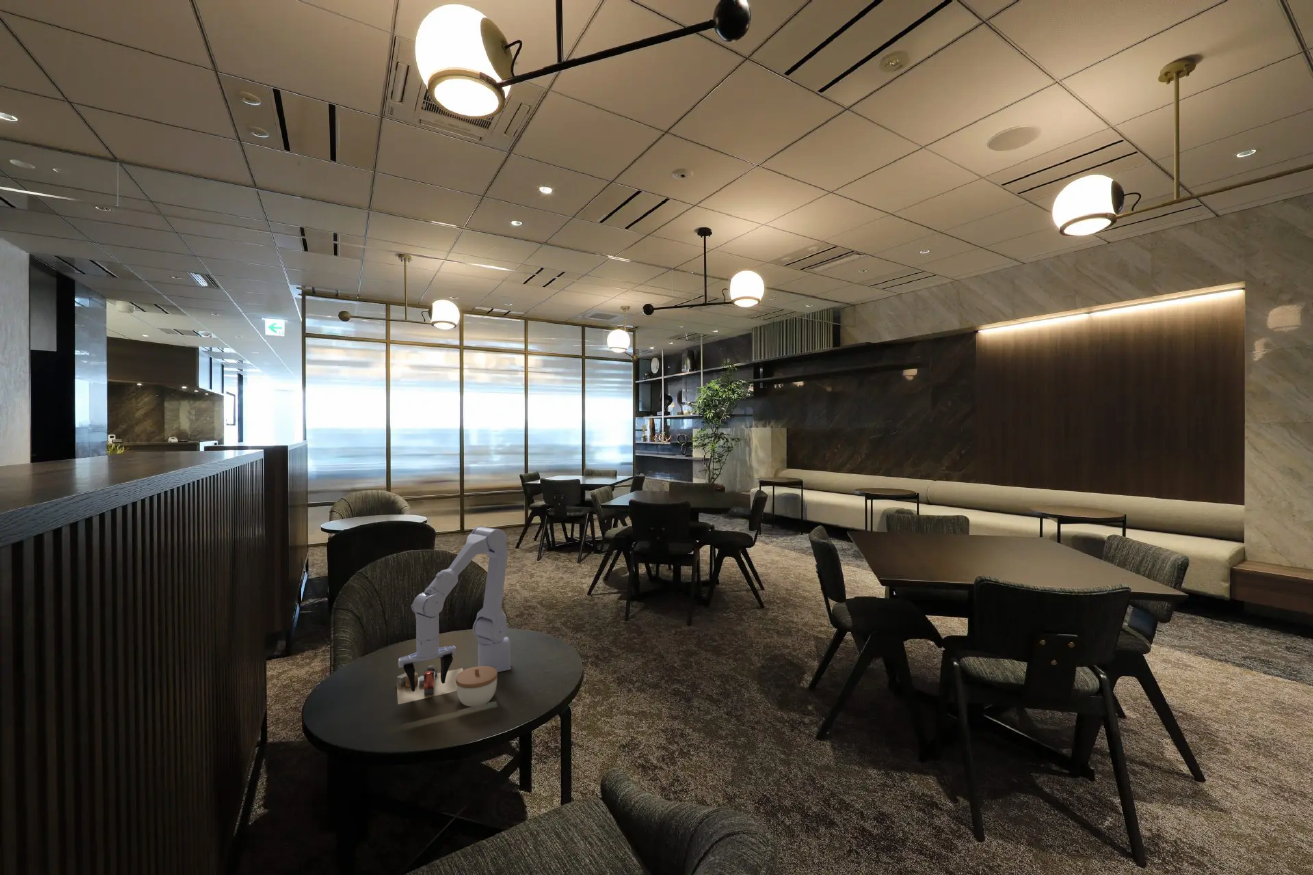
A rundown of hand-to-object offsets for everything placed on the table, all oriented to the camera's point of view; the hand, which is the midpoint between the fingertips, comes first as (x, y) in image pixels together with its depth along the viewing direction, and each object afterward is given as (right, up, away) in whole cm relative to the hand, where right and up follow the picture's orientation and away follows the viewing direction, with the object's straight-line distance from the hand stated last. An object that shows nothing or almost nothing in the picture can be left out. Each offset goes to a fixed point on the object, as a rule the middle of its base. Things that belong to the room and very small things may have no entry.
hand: (428, 685), depth 141 cm
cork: (-7, -2, +5) cm, 9 cm away
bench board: (-1, -3, +5) cm, 6 cm away
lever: (-2, -2, +5) cm, 6 cm away
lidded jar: (+14, -4, -3) cm, 15 cm away
